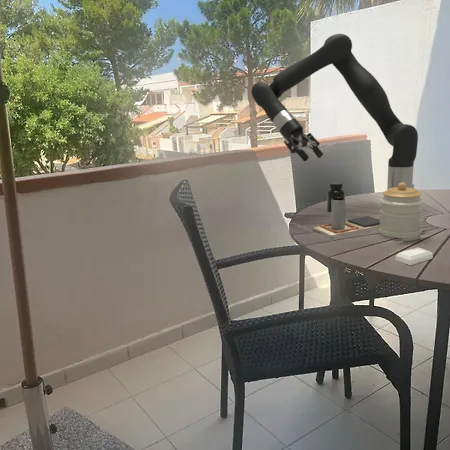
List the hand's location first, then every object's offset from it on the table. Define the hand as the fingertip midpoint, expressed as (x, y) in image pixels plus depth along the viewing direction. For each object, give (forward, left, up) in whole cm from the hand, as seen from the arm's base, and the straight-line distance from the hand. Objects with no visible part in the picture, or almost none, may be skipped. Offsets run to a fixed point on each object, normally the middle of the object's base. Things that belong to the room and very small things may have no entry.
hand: (314, 157), depth 154 cm
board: (-7, +13, -24) cm, 28 cm away
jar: (-14, +27, -25) cm, 39 cm away
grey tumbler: (-1, +12, -23) cm, 26 cm away
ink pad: (-13, +13, -23) cm, 30 cm away
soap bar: (-2, +45, -25) cm, 52 cm away
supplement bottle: (-16, -9, -25) cm, 31 cm away
